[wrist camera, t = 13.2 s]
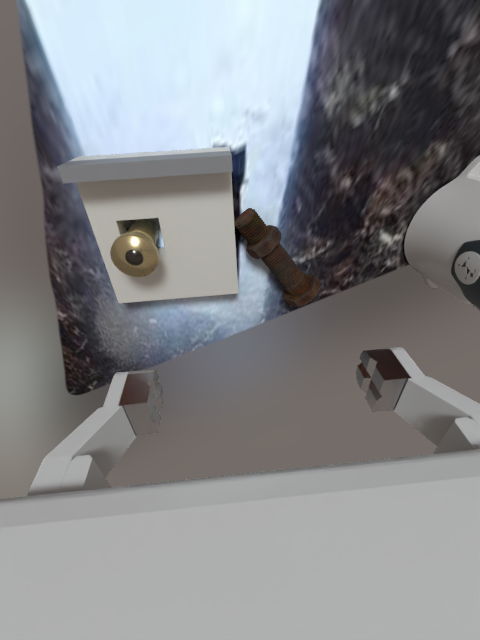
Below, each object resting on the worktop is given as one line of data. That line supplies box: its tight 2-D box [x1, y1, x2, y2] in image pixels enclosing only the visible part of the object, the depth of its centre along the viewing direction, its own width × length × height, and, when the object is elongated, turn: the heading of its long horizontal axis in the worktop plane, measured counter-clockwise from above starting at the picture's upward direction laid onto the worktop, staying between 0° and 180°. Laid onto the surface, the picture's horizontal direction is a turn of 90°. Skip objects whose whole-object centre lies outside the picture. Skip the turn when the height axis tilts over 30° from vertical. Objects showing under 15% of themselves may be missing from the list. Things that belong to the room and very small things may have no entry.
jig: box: [57, 147, 238, 303], centre depth 37 cm, size 17×18×6 cm
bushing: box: [110, 219, 159, 277], centre depth 37 cm, size 5×5×7 cm
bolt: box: [234, 208, 320, 307], centre depth 41 cm, size 6×5×15 cm
